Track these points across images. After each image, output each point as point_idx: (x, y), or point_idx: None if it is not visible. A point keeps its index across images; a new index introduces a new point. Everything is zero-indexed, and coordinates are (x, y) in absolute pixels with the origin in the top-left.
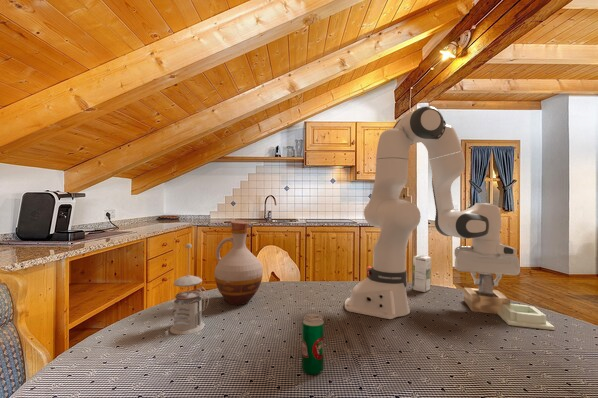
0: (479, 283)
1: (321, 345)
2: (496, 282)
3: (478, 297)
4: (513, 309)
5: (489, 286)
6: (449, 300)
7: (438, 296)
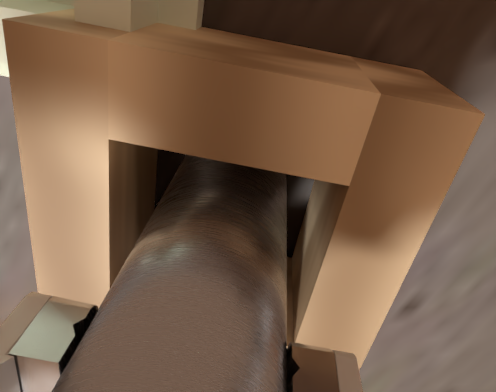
0: (294, 355)
1: None
2: (21, 341)
3: (406, 100)
4: (33, 3)
5: (174, 271)
6: (451, 301)
7: (482, 365)
